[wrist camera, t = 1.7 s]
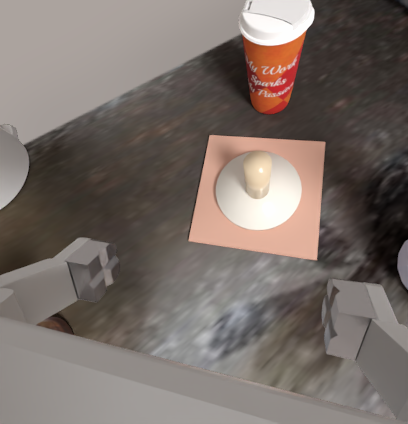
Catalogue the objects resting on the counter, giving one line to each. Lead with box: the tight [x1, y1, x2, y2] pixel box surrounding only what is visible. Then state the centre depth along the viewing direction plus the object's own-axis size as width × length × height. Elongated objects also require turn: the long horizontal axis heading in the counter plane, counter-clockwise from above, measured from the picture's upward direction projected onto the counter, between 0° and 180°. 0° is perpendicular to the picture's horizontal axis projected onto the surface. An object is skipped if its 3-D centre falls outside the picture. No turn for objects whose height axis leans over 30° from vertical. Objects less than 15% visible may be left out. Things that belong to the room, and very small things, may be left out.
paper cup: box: [239, 0, 314, 114], centre depth 35 cm, size 8×8×14 cm
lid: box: [216, 151, 302, 231], centre depth 33 cm, size 11×11×8 cm
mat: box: [188, 135, 325, 260], centre depth 37 cm, size 16×16×1 cm
